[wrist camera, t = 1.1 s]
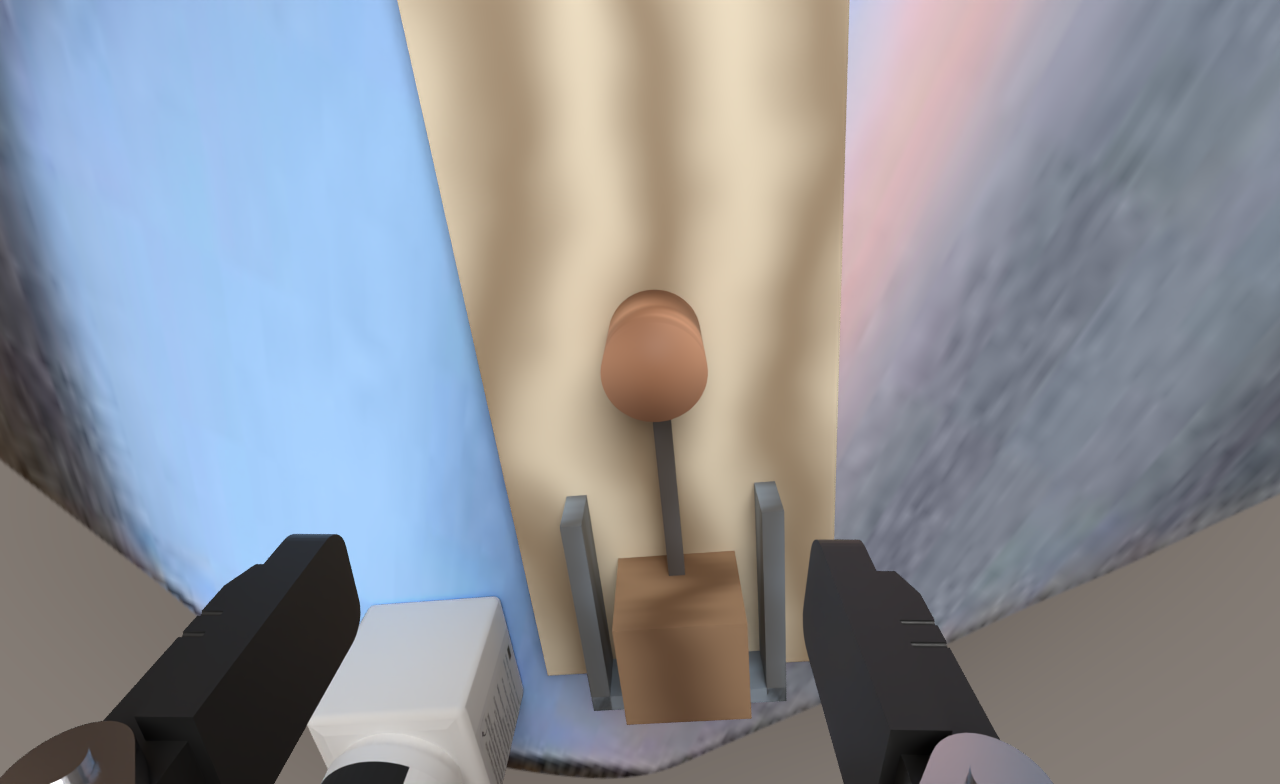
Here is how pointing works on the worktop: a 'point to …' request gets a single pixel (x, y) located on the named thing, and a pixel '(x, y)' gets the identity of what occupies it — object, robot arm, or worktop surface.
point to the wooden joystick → (672, 538)
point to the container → (422, 697)
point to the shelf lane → (648, 283)
